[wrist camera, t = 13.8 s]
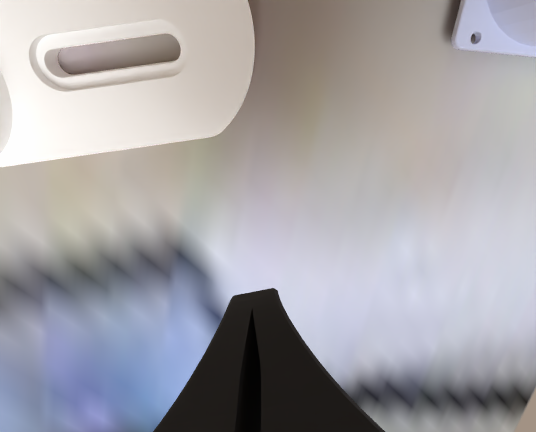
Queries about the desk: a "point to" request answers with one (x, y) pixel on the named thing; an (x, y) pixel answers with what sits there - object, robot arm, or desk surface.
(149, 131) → the bracket
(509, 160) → the desk surface
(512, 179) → the desk surface
